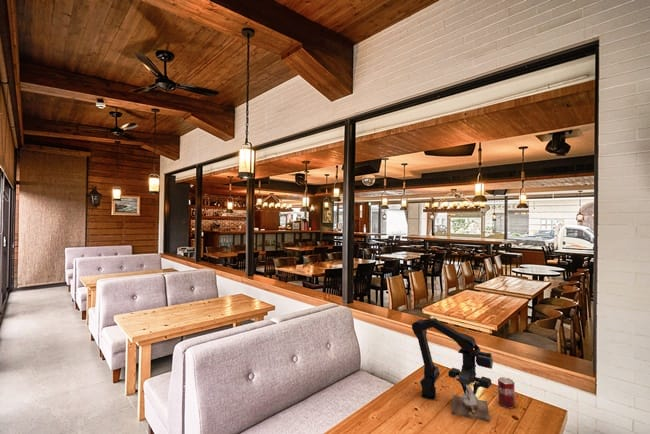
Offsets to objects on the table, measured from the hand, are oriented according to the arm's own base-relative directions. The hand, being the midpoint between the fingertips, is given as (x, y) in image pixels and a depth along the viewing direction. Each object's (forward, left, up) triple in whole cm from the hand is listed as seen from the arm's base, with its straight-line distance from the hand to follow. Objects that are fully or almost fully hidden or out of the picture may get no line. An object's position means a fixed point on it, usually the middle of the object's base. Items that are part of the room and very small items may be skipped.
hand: (469, 395), depth 157 cm
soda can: (+17, +11, -7) cm, 22 cm away
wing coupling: (0, 0, -5) cm, 5 cm away
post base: (0, 0, -7) cm, 7 cm away
